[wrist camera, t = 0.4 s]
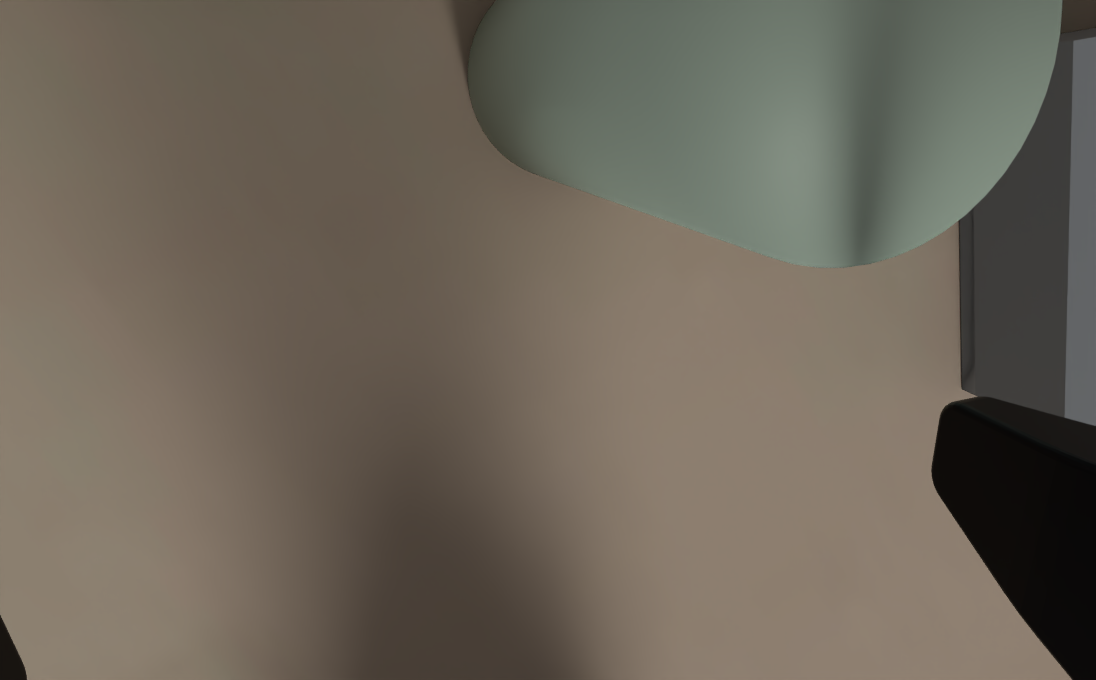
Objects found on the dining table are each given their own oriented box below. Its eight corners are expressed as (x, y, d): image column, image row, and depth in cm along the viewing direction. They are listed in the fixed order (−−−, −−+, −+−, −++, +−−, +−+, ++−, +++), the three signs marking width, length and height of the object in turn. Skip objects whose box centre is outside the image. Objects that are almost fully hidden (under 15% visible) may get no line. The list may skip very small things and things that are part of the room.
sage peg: (672, 160, 22) (1057, 223, 10) (487, 194, 22) (666, 308, 9) (649, -44, 21) (1066, -256, 9) (449, -15, 20) (603, -206, 8)
